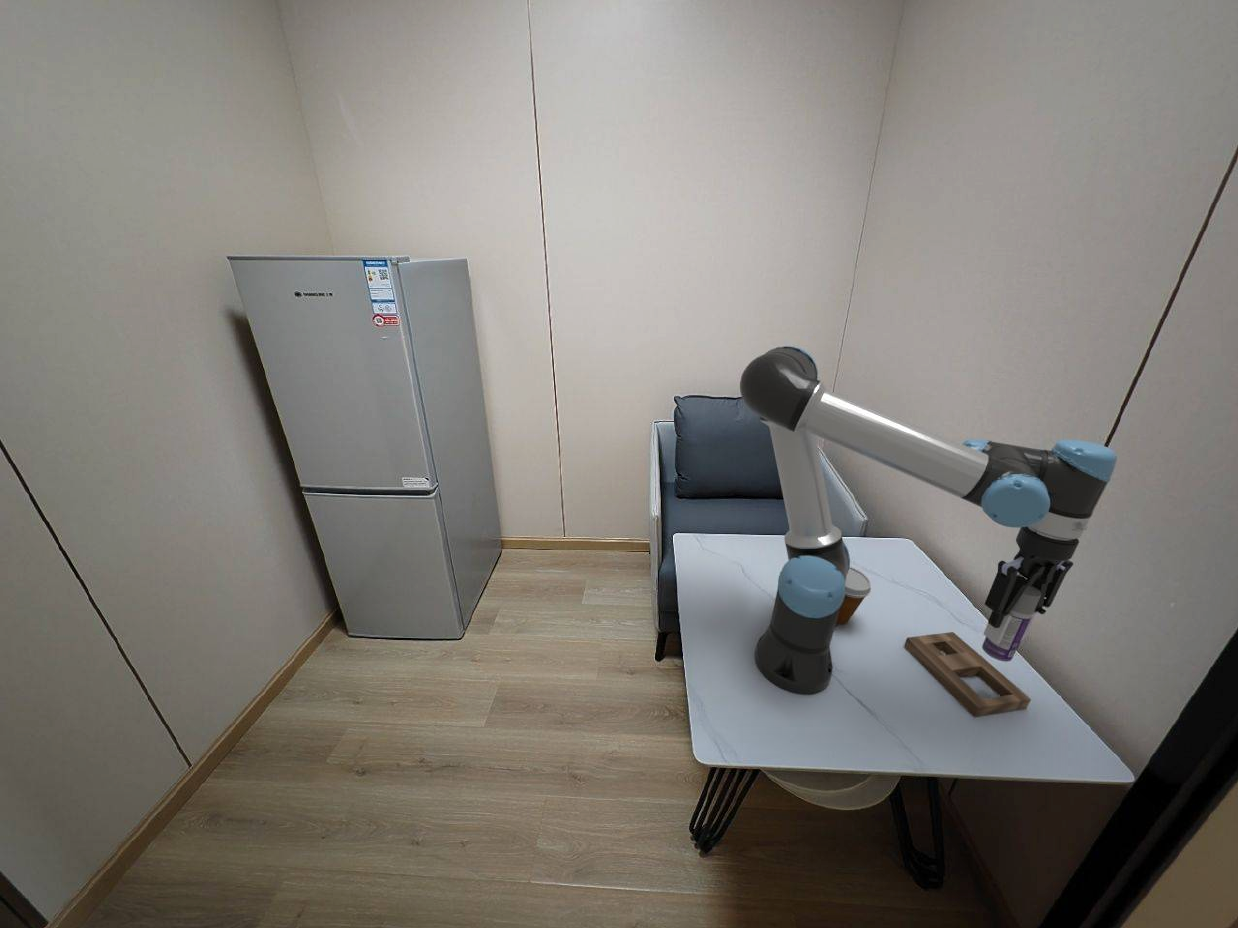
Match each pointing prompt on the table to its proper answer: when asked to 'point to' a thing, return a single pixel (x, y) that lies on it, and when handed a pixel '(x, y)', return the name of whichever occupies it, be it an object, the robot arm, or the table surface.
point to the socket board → (965, 673)
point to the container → (1014, 626)
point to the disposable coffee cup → (853, 594)
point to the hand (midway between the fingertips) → (1003, 636)
